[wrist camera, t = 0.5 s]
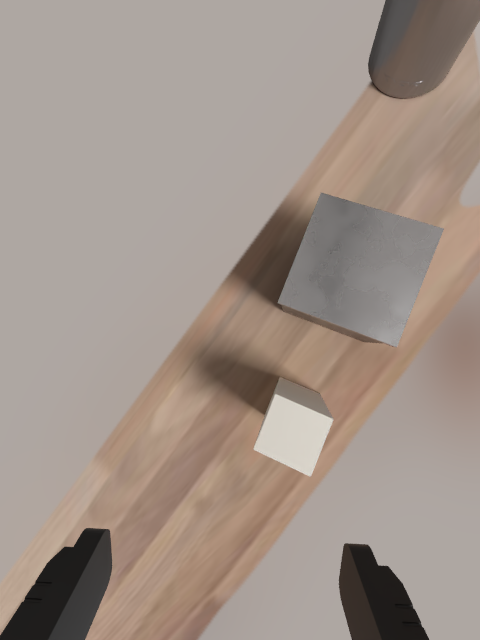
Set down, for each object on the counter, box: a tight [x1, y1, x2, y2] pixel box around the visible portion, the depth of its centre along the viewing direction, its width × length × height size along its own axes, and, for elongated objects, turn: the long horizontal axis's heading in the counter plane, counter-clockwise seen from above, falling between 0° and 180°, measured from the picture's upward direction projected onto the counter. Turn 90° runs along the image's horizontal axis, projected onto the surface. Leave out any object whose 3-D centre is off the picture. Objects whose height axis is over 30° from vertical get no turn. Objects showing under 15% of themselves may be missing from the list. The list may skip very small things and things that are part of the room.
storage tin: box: [278, 193, 444, 347], centre depth 30 cm, size 10×10×10 cm
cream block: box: [253, 377, 333, 477], centre depth 29 cm, size 5×5×11 cm
